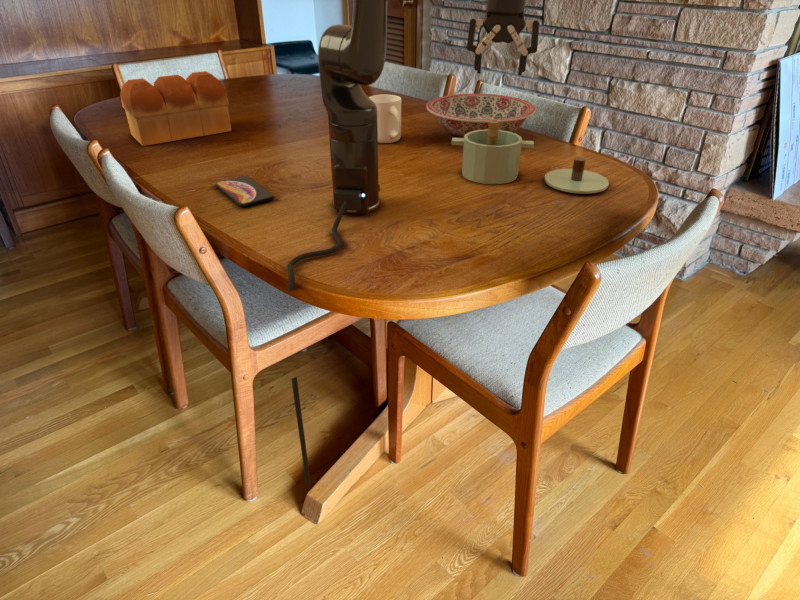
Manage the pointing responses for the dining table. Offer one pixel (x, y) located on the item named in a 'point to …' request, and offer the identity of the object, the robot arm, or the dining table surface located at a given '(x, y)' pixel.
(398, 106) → the mug
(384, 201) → the dining table surface
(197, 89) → the bread
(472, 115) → the ceramic bowl
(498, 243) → the dining table surface
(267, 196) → the smartphone
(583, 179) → the lid
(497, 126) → the rubber stamp
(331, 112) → the robot arm
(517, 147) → the pot
